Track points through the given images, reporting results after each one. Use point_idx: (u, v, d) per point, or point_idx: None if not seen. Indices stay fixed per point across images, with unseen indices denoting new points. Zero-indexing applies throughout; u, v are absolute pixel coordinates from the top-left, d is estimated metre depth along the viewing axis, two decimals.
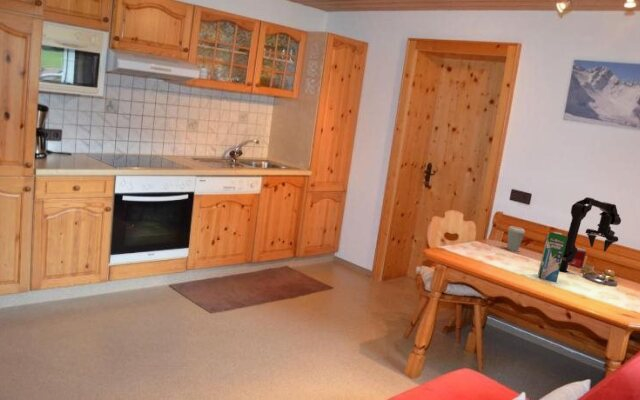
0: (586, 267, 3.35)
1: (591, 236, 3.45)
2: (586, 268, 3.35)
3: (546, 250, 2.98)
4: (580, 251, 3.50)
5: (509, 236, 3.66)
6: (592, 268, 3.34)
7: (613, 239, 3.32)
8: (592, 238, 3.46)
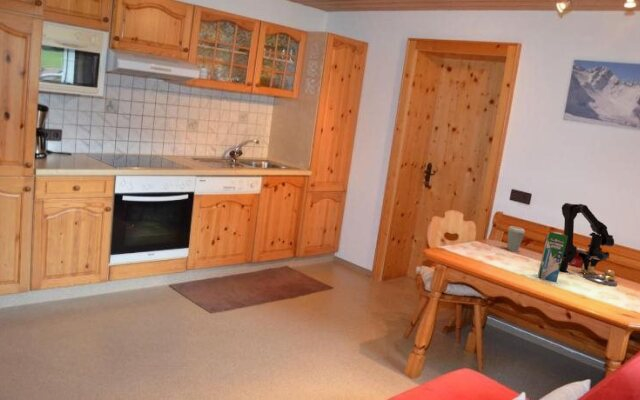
0: None
1: (591, 259, 3.39)
2: None
3: (546, 250, 2.98)
4: (580, 251, 3.50)
5: (509, 236, 3.66)
6: (592, 268, 3.34)
7: (579, 254, 3.32)
8: (593, 261, 3.38)
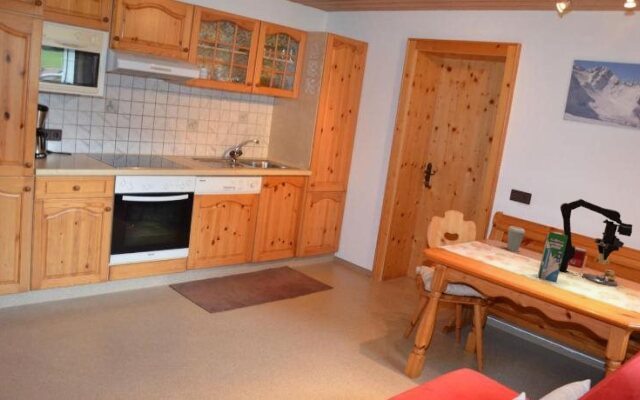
0: None
1: (600, 246, 3.25)
2: None
3: (546, 250, 2.98)
4: (580, 251, 3.50)
5: (509, 236, 3.66)
6: None
7: (610, 247, 3.13)
8: (601, 248, 3.25)
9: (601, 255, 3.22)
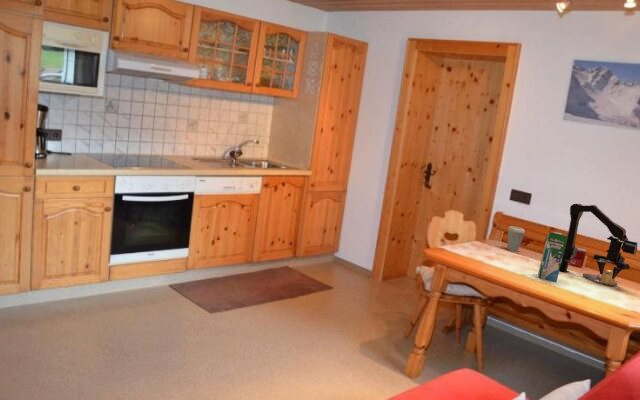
0: (611, 277, 3.12)
1: (601, 263, 3.16)
2: (611, 278, 3.12)
3: (546, 250, 2.98)
4: (580, 251, 3.50)
5: (509, 236, 3.66)
6: None
7: (624, 267, 3.04)
8: (602, 265, 3.17)
9: (607, 275, 3.12)
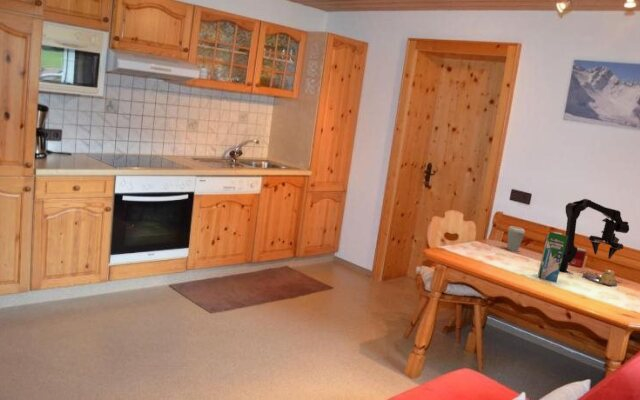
0: (611, 277, 3.12)
1: (595, 243, 3.36)
2: (611, 278, 3.12)
3: (546, 250, 2.98)
4: (580, 251, 3.50)
5: (509, 236, 3.66)
6: None
7: (618, 246, 3.23)
8: (596, 245, 3.36)
9: (607, 275, 3.12)
